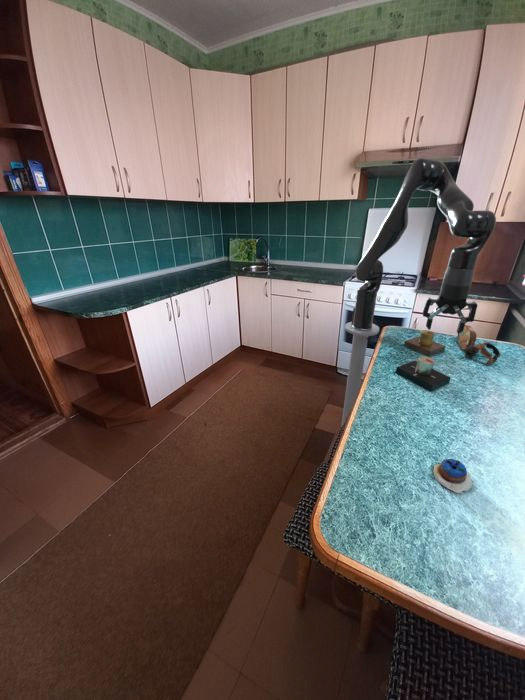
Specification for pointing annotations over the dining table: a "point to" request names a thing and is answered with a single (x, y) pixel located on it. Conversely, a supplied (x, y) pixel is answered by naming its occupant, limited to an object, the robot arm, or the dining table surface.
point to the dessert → (453, 475)
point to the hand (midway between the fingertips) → (443, 330)
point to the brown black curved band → (483, 352)
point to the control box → (423, 377)
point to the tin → (466, 337)
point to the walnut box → (424, 347)
